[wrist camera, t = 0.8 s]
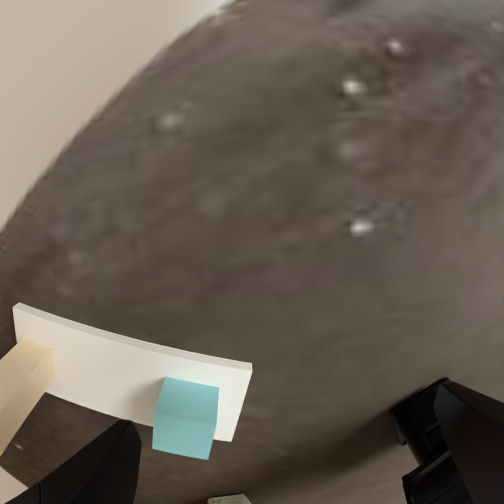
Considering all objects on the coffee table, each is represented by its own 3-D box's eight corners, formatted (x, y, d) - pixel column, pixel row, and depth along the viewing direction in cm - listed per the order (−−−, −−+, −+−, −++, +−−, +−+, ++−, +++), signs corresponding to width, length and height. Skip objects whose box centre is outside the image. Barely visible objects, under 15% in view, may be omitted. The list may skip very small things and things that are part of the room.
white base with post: (251, 363, 23) (264, 555, 8) (231, 433, 25) (230, 589, 10) (18, 302, 21) (-101, 404, 6) (29, 377, 23) (-52, 484, 8)
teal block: (219, 387, 22) (216, 424, 18) (211, 423, 23) (207, 459, 19) (165, 376, 22) (154, 412, 18) (162, 413, 23) (152, 448, 19)
